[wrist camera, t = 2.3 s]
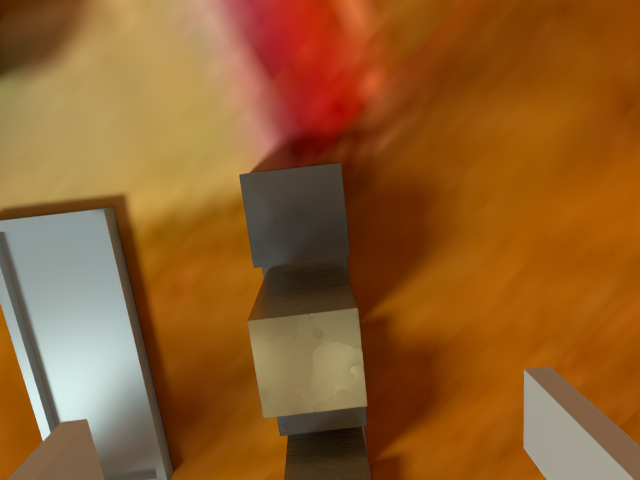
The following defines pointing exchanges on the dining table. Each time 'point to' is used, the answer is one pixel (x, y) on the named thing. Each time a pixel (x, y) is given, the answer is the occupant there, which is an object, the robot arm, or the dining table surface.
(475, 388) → the dining table surface
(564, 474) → the robot arm
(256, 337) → the beige rectangular block
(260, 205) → the gray notched bar
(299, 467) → the cream upright block
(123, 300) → the tray
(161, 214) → the dining table surface
